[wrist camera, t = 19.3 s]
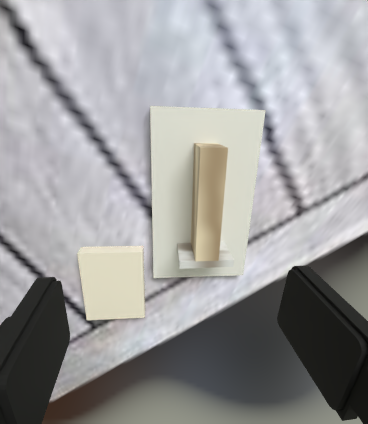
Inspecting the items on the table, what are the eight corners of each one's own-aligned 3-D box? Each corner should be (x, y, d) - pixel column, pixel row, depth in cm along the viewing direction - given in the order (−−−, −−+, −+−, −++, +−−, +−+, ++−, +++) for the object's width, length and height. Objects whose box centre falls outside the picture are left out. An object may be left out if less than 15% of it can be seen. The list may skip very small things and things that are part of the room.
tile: (82, 245, 36) (90, 309, 40) (77, 253, 34) (86, 320, 38) (143, 244, 37) (145, 307, 41) (142, 252, 35) (144, 317, 39)
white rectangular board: (153, 272, 38) (153, 278, 37) (150, 106, 30) (150, 106, 28) (239, 269, 40) (242, 275, 38) (260, 110, 31) (265, 110, 30)
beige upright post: (176, 249, 35) (179, 268, 31) (178, 142, 30) (181, 147, 25) (223, 247, 36) (233, 266, 31) (233, 143, 31) (246, 147, 26)
